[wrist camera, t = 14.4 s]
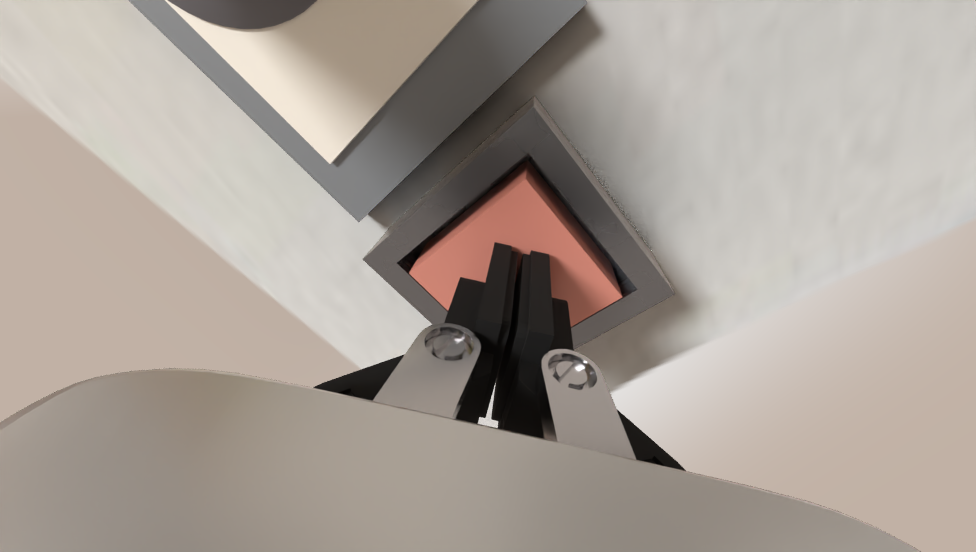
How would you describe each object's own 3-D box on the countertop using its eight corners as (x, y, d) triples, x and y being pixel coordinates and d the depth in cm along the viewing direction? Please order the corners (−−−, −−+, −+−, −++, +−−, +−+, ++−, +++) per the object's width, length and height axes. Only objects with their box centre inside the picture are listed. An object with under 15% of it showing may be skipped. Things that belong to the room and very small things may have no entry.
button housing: (651, 251, 15) (675, 293, 12) (507, 339, 17) (501, 388, 15) (534, 95, 12) (533, 106, 10) (392, 224, 15) (362, 259, 13)
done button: (610, 263, 14) (622, 297, 12) (509, 327, 15) (504, 365, 13) (527, 159, 12) (525, 178, 10) (426, 243, 14) (408, 273, 12)
